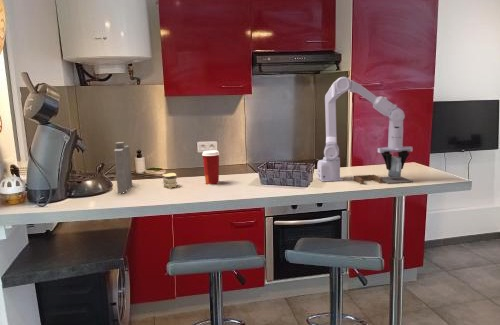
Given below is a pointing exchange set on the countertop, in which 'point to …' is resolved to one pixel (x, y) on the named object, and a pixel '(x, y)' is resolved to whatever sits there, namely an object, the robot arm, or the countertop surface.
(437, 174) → the countertop surface
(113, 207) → the countertop surface
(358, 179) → the jug holder
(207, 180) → the paper cup
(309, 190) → the countertop surface
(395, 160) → the jug
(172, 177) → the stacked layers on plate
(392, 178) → the rubber mat
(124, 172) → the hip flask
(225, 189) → the countertop surface
